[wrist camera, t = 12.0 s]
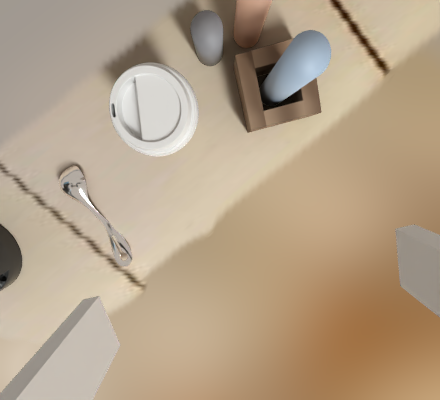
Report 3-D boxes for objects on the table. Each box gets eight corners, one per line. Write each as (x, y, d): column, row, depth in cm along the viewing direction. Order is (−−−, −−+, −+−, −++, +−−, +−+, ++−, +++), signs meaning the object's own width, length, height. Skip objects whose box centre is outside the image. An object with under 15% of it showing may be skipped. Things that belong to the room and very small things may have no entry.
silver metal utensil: (134, 265, 40) (111, 277, 41) (141, 257, 43) (120, 267, 44) (69, 160, 37) (46, 174, 38) (83, 160, 41) (61, 172, 41)
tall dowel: (261, 109, 37) (291, 84, 22) (256, 82, 36) (283, 37, 21) (286, 102, 37) (333, 72, 22) (281, 75, 36) (327, 24, 21)
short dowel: (200, 69, 36) (196, 51, 29) (193, 41, 35) (186, 16, 28) (225, 61, 36) (226, 41, 29) (218, 33, 35) (218, 5, 28)
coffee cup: (156, 81, 36) (113, 39, 22) (214, 103, 37) (209, 77, 23) (140, 140, 39) (91, 138, 24) (195, 160, 39) (179, 170, 25)
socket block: (247, 132, 38) (251, 130, 33) (233, 67, 36) (235, 55, 31) (308, 116, 38) (321, 112, 33) (297, 48, 35) (309, 33, 30)
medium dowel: (237, 51, 35) (243, 10, 25) (230, 22, 34) (234, -34, 24) (262, 43, 35) (280, -1, 24) (256, 13, 34) (272, -46, 24)
